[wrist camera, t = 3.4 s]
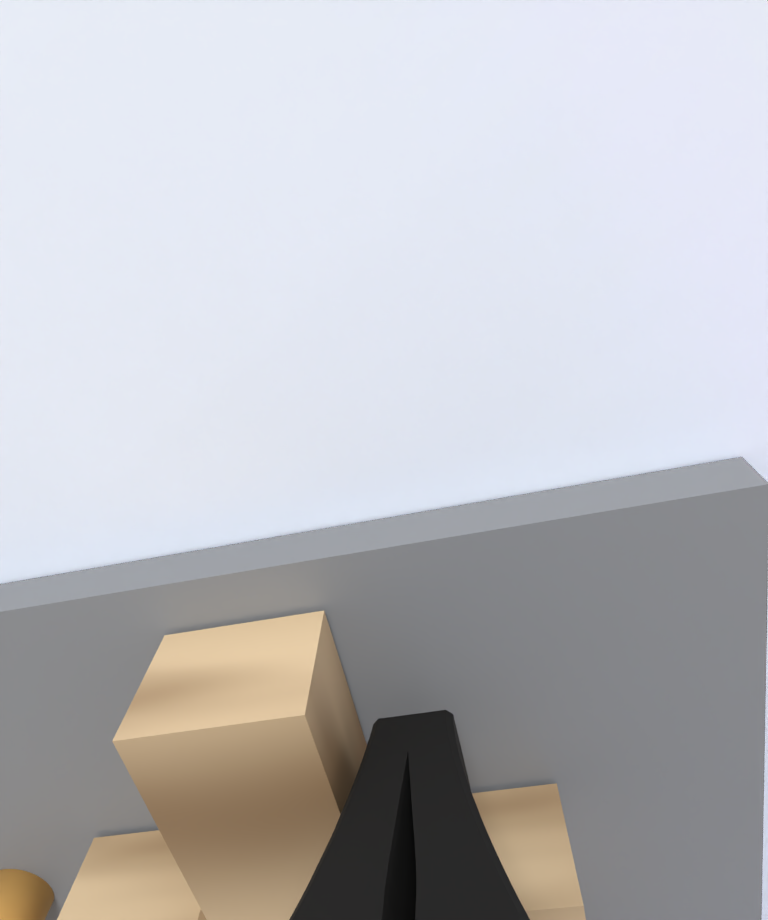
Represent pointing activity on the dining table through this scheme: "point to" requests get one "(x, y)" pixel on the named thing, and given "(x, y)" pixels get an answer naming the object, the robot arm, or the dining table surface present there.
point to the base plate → (451, 674)
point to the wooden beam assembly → (269, 785)
